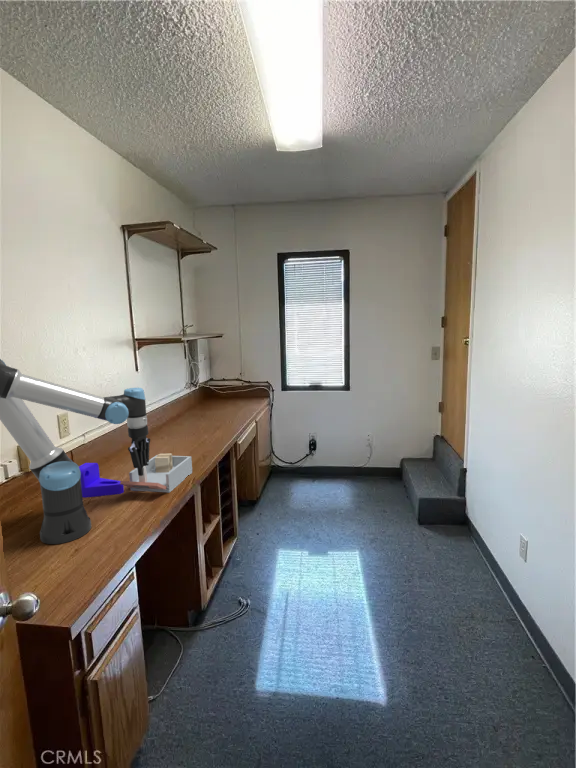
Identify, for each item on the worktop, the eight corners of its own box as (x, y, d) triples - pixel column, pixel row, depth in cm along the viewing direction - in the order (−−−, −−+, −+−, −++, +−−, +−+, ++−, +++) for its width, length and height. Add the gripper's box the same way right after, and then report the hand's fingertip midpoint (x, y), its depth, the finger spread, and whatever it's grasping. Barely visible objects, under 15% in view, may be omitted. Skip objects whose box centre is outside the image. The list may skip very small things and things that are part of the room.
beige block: (168, 472, 177) (167, 457, 176) (156, 472, 177) (154, 458, 176) (172, 467, 183) (171, 453, 182) (160, 467, 183) (159, 453, 182)
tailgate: (156, 487, 153) (157, 482, 154) (119, 485, 156) (120, 480, 156) (165, 490, 160) (166, 486, 161) (129, 488, 163) (130, 484, 164)
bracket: (75, 497, 159) (72, 470, 158) (90, 486, 170) (88, 461, 168) (116, 498, 158) (114, 470, 156) (129, 487, 168) (127, 461, 167)
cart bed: (168, 494, 160) (167, 475, 159) (128, 491, 163) (126, 473, 162) (192, 472, 184) (191, 456, 183) (157, 470, 187) (155, 455, 186)
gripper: (137, 431, 147) (143, 489, 151) (154, 422, 160) (159, 475, 164) (119, 430, 148) (125, 488, 152) (138, 421, 161) (143, 475, 165)
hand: (143, 481), depth 158 cm, fingers closed
